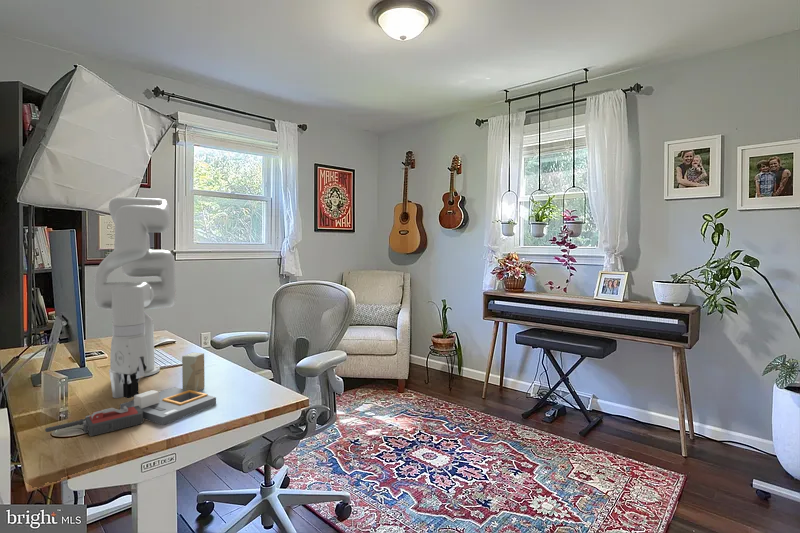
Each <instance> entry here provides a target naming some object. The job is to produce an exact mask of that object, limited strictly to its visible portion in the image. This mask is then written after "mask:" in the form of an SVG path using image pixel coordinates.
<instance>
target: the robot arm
mask: <svg viewBox="0 0 800 533" xmlns="http://www.w3.org/2000/svg"><path fill="white" fill-rule="evenodd" d="M170 208H171V207H170V205H169V203H168V201H167V200H166V199H163V198H156V197H155V198H151V197H136V196H135V197H133V196H132V197H131V196H130V197H129V196H124V197H123V196H122V197H115V198H113V199H111V200H109V203H108V209H109V215H110V217H111V220H112V221H113V223H114V247H113V250H112V251H111V252H110V253H109V254H108V255H107V256H106V257H105V258H103V260H102V261H101V262H100V263H99V265H97V268H96V270H95V273H94V274H95V275H94V282H93V283H94V285H93V301H94V304H95V306H96V307H97V308H98V309H101V310H111V316H112V317H111V320H112V324H111V325H112V338H111V341H110V342H111V343H110V358H109V359H110V362H109V364H110V368H111V370H112V371H114V372H117V373H119V374H120V375H121V378H122V383H123V396H124V397H123V398H124V399H131V398H134V395H137V394H140V393H139V382H140V379H142V378H145V377H148V376H149V377H150V376H152V375H155V374H157V373H159V372H160V371H161V368H160V367H161V366H158V365H156V364H155V363H156V362H155V336H154V334H155V333H154V331H155V330H154V327H155V326H154V320H153V318H152V317H151V316H150V315H149V314H148V313H147V312H146V311H145V310H153V309H167V308H172V307H173V306H175V304H176V301H177V300H176V298H177V297H176V296H177V294H176V291H177V289H176V264H175V257H174V255H173V253H172V251H170V250H165V249H152V248H151V245H150V244H151V243H150V241H151V240H150V234H149V233H166V232H167V231H168V230H169V228H170V224H171V223H170V221H171V216H170V215H171V209H170ZM118 268H121V270H122V273H123V275H124V276H126V277H127V278H132V279H133V278H141V279H142V278H159V279H160V280H157V281H156V280H154V281H153V280H152V281H147V280H146V281H143V280H141V281H118V282H117V281H115V282H107V280H108V277H109V276H110V275H111V273H112V272H114V271H115V270H116V269H118Z"/></svg>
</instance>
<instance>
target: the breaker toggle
mask: <svg viewBox="0 0 800 533" xmlns="http://www.w3.org/2000/svg"><path fill="white" fill-rule="evenodd" d="M159 392H160V391H158V390H154V389H150V390H147V391H144V392H141V393H139V394H137V395H134V397H133V400H134V406H139V407H140V408H141V409H142V408H145V407H148V406H151V405H154V404H157V403H160V402H159Z"/></svg>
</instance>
